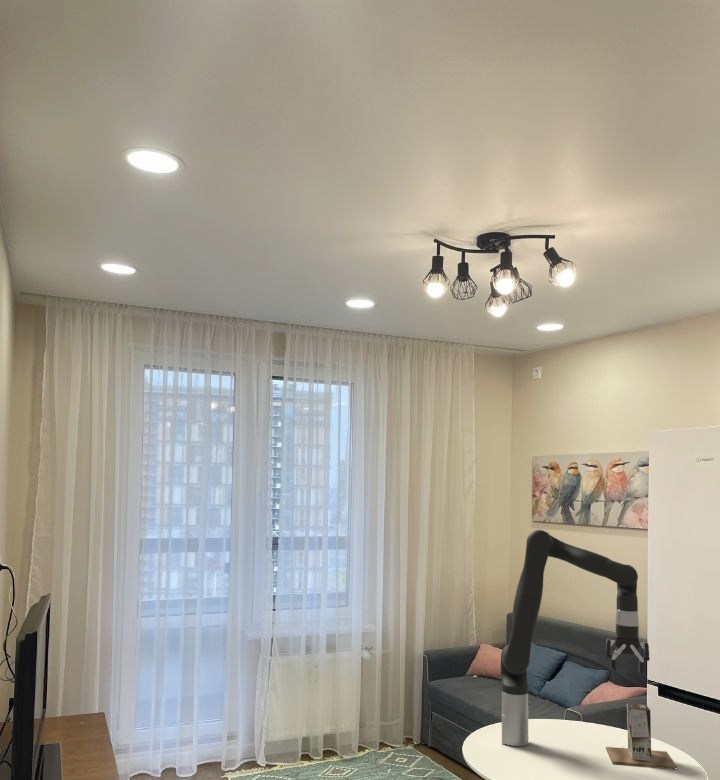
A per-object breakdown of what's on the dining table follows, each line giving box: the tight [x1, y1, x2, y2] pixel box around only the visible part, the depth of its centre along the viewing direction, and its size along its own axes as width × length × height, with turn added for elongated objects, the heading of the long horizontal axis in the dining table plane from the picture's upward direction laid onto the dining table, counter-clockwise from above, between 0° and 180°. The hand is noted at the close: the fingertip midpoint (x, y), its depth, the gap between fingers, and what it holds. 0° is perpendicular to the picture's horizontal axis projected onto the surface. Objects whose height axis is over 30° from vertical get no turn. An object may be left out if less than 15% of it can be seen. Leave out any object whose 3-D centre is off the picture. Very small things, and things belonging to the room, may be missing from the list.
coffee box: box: [626, 702, 652, 761], centre depth 254 cm, size 9×6×16 cm
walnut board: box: [605, 746, 678, 769], centre depth 253 cm, size 20×15×1 cm
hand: (627, 671), depth 260 cm, fingers open, 8 cm apart
